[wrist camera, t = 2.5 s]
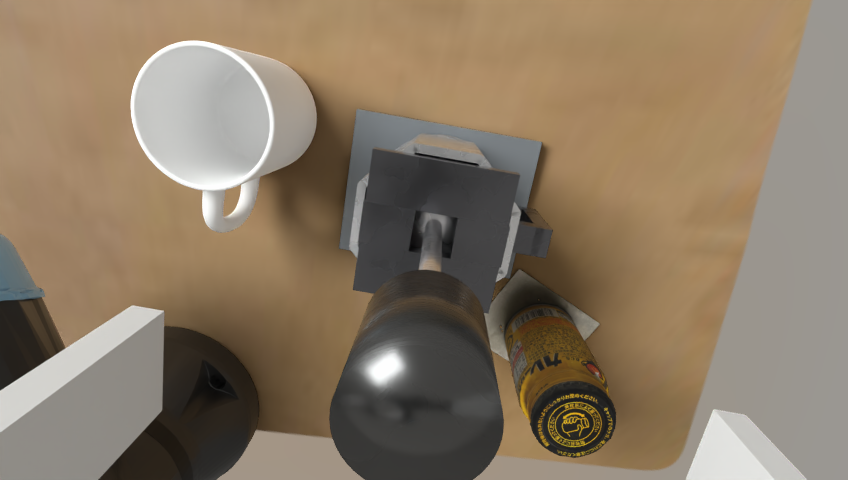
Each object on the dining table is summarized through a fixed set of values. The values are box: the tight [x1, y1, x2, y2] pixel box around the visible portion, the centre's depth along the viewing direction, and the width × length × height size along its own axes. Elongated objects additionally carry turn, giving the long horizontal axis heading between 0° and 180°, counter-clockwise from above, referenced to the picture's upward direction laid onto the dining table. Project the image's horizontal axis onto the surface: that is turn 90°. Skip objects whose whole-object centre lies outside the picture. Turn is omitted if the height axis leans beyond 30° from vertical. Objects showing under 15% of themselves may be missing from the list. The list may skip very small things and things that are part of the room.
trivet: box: [339, 109, 542, 279], centre depth 38 cm, size 14×11×1 cm
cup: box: [131, 41, 317, 233], centre depth 33 cm, size 8×12×10 cm
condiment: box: [484, 269, 616, 458], centre depth 35 cm, size 7×8×12 cm
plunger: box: [329, 211, 504, 480], centre depth 20 cm, size 7×7×19 cm
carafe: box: [349, 133, 553, 314], centre depth 32 cm, size 12×10×11 cm
